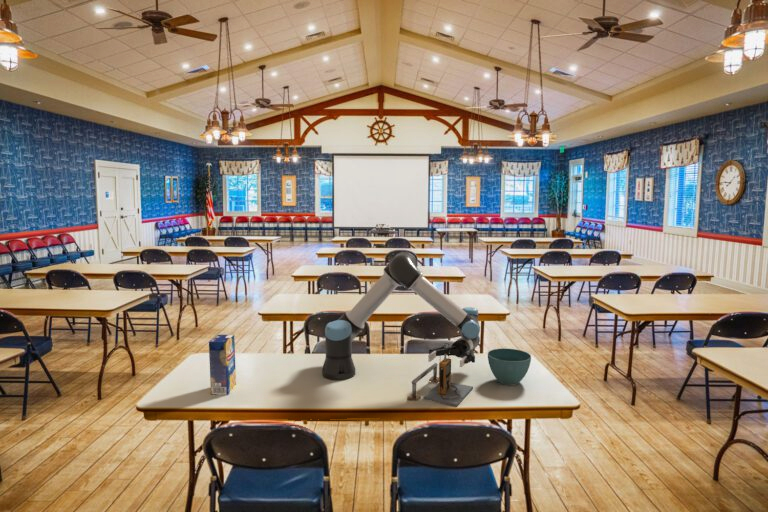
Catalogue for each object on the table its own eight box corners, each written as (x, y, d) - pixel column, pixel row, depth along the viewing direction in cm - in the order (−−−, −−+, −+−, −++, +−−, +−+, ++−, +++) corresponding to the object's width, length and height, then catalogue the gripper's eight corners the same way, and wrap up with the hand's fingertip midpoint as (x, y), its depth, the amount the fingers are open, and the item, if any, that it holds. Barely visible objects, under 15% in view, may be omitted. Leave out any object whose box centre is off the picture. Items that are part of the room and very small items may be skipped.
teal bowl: (478, 382, 215) (479, 354, 213) (500, 371, 228) (501, 345, 227) (517, 393, 203) (518, 364, 201) (537, 381, 216) (538, 354, 214)
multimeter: (459, 402, 191) (460, 352, 189) (435, 397, 196) (435, 348, 193) (470, 389, 204) (471, 342, 202) (447, 385, 209) (448, 339, 206)
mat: (423, 399, 196) (423, 397, 196) (441, 382, 214) (441, 380, 214) (456, 406, 190) (456, 404, 190) (473, 388, 207) (473, 386, 207)
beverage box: (236, 384, 211) (234, 334, 208) (227, 395, 200) (225, 342, 198) (220, 384, 211) (218, 334, 209) (210, 395, 200) (208, 342, 198)
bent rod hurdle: (407, 399, 196) (407, 380, 195) (432, 378, 219) (432, 361, 218) (416, 401, 194) (416, 382, 193) (441, 380, 217) (441, 362, 216)
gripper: (489, 359, 214) (474, 375, 195) (435, 351, 226) (416, 365, 207) (490, 342, 213) (474, 356, 195) (436, 335, 225) (416, 347, 206)
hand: (444, 361), depth 201 cm, fingers open, 13 cm apart
